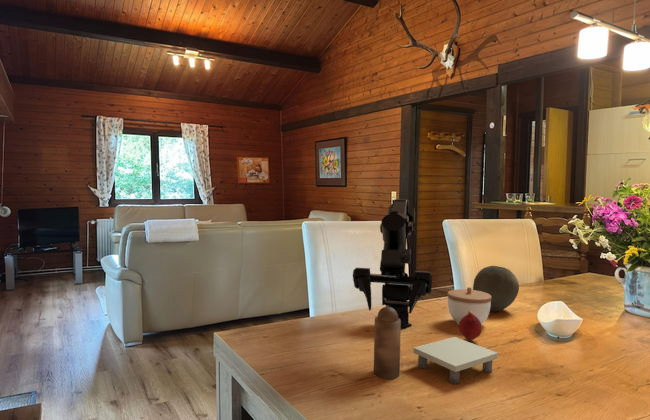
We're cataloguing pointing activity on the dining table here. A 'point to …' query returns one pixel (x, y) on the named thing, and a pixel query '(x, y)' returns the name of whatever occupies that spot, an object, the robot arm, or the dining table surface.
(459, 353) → the shelf
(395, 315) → the mill
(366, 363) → the dining table surface
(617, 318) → the dining table surface
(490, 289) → the grey sphere
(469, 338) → the onion
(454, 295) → the lidded bowl
